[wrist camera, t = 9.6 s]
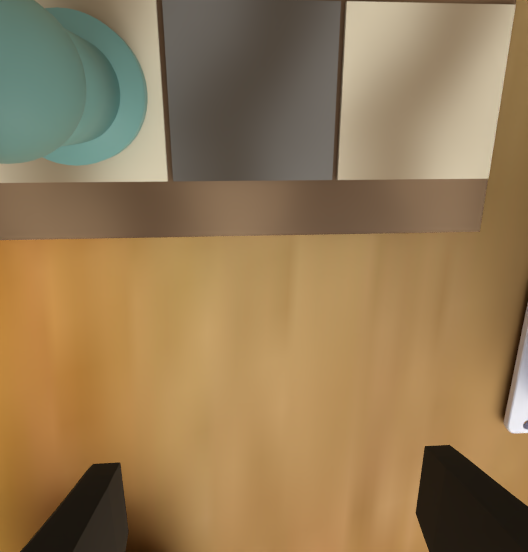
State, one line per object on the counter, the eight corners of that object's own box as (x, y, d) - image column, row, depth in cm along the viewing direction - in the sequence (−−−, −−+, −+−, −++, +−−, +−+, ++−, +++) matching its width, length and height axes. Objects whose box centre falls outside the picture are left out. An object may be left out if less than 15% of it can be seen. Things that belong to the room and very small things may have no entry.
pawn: (141, 15, 15) (65, -80, 8) (152, 162, 16) (97, 196, 9) (-8, 13, 15) (-232, -88, 7) (17, 163, 16) (-149, 200, 9)
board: (512, -58, 16) (530, -70, 15) (469, 227, 19) (482, 232, 18) (-241, -82, 14) (-275, -96, 13) (-148, 237, 17) (-169, 244, 16)
